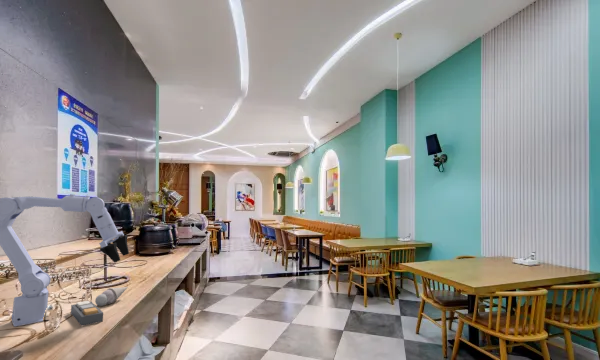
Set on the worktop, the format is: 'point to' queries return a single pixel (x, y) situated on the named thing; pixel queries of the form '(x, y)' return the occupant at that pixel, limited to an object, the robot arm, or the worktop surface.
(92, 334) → the worktop surface
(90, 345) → the worktop surface
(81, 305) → the cream key
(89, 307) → the grey key
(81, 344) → the worktop surface
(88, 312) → the amber key
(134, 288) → the worktop surface
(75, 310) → the grey compartment tray
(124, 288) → the ice cream cone
